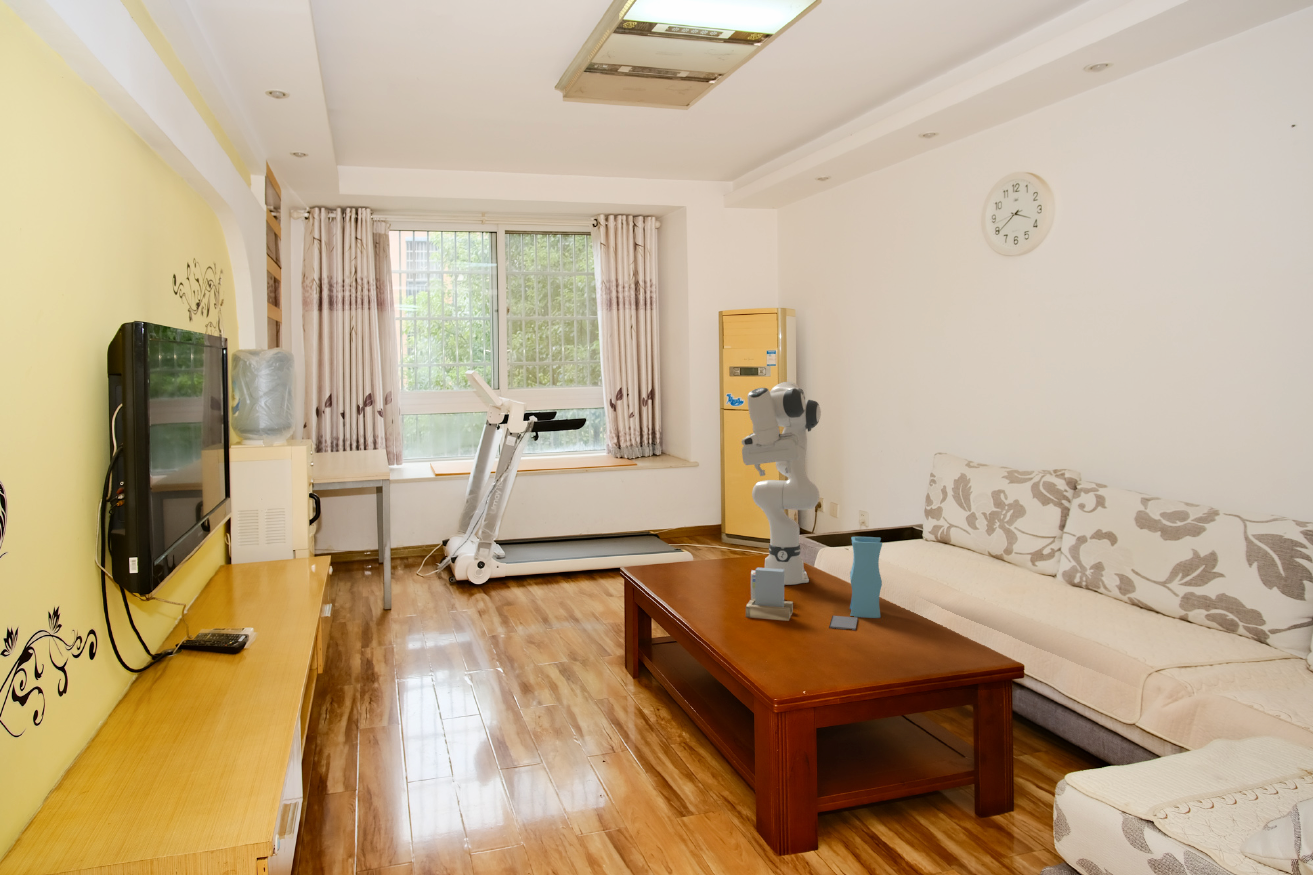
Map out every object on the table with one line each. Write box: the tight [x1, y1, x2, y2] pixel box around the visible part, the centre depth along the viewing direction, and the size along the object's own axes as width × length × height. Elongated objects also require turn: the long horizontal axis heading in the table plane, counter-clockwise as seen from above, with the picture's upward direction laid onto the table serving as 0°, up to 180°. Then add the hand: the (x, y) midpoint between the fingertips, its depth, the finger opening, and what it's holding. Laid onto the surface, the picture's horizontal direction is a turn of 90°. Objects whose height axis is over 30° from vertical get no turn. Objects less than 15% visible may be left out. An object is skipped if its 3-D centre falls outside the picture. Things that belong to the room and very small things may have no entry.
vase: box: [849, 536, 883, 619], centre depth 282 cm, size 10×10×25 cm
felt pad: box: [828, 615, 859, 631], centre depth 271 cm, size 12×12×1 cm
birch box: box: [745, 597, 794, 621], centre depth 277 cm, size 10×14×4 cm
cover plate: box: [754, 567, 785, 607], centre depth 277 cm, size 4×9×15 cm, turn 74°
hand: (775, 474), depth 290 cm, fingers open, 8 cm apart
